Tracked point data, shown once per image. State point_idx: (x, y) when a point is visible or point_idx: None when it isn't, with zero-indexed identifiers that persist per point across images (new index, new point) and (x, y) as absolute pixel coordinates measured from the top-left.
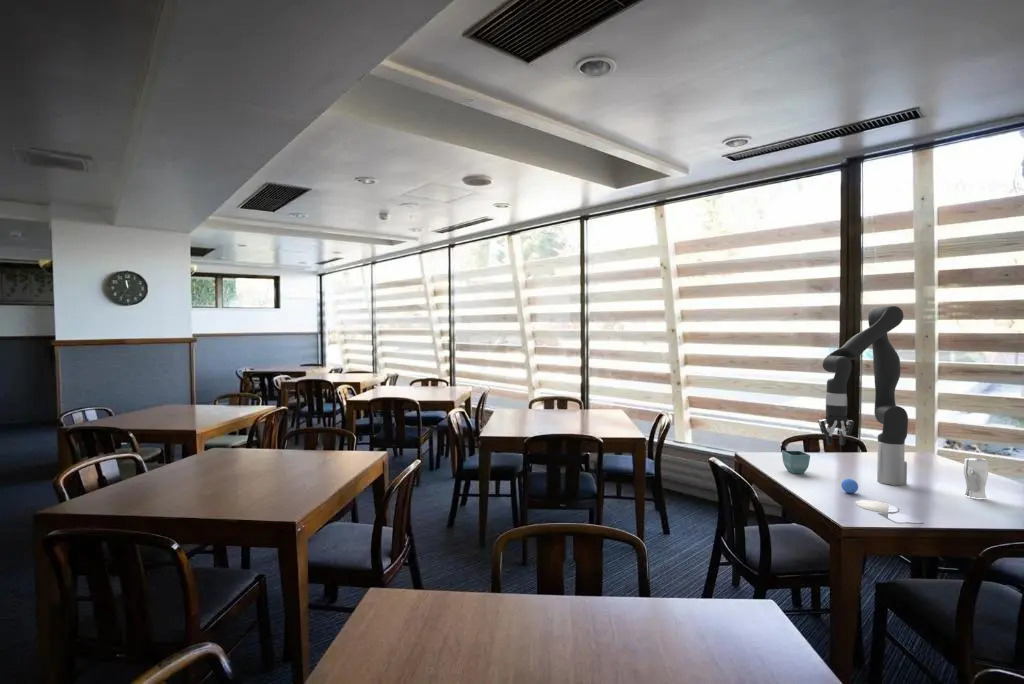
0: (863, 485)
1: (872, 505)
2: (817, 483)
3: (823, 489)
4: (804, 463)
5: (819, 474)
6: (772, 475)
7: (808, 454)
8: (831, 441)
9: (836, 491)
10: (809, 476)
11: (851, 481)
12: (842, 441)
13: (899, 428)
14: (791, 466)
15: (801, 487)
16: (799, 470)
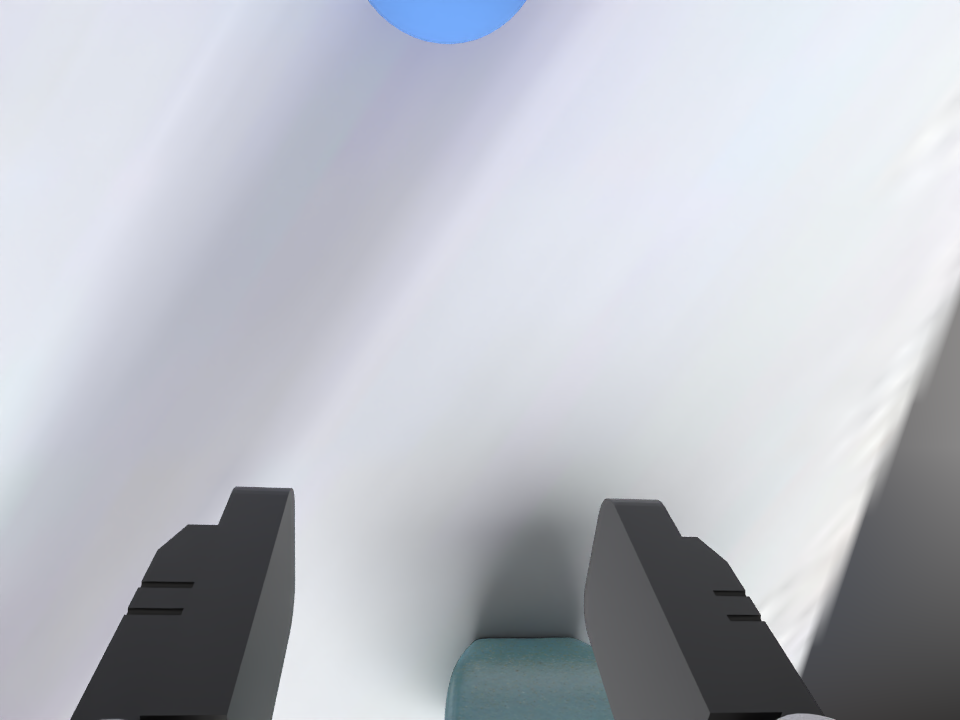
0: (74, 251)
1: None
2: (563, 336)
3: (657, 115)
4: (503, 701)
5: (333, 619)
6: (805, 581)
7: None
8: (664, 561)
9: (562, 25)
10: (478, 558)
11: None
12: (273, 556)
13: None
14: None
15: (840, 201)
16: (531, 650)
